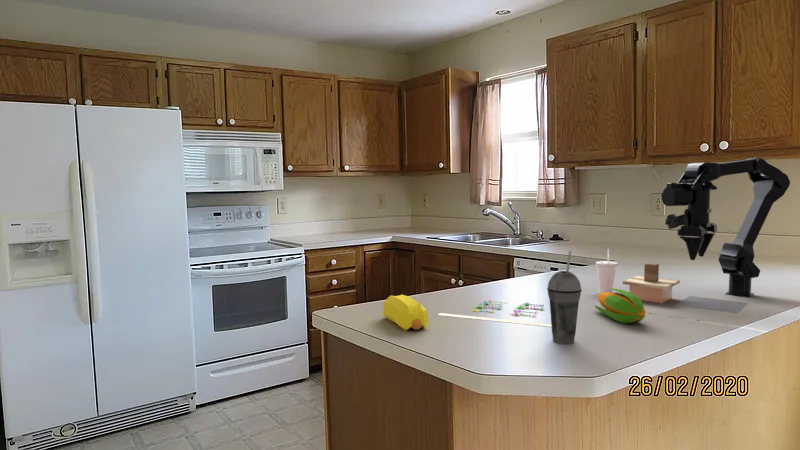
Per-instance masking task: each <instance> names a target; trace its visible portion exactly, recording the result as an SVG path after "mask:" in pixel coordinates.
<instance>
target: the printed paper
mask: <svg viewBox="0 0 800 450" xmlns="http://www.w3.org/2000/svg"><path fill="white" fill-rule="evenodd" d="M504 304H507V302H504V303H503V302H502V301H492V300H491V299H490V300H485V301H483V302H480V303H479V304H477V305H475V306H472V308H470V311H471V312H476V313H479V312H482V313H492V314H493V313H494V314H495V310H503V309H504V308H503V307H502V306H503V305H504ZM488 305H495V306H488ZM499 305H500V306H499ZM501 305H502V306H501ZM529 305H530V306H534V307H529ZM544 305H545V304H535V303H534V304H533V303H530V302H524V303H522V304H520V305H518V306H516V307H513V308H514V309H513V312H514V313H512V316H517V317H518V316H519V315H520V316H525V317H526V316H527V317H537V315H536V314H538V311H537V310H539V311H545V310H546V308H544ZM497 306H498V307H497ZM535 306H539V307H540V308H539V307H535ZM541 306H542V307H541ZM475 308H476V309H475ZM482 308H486V309H487V308H488V309H492V310H491V311H490V310H489V311H488V310H481V309H482ZM479 309H480V310H479ZM494 309H495V310H494ZM517 309H518V310H517ZM523 309H525V310H527V309H528V310H529V309H530V310H532V309H533V310H535V312H533V311H529V312H528V311H522V310H523ZM524 313H528V314H524ZM508 314H509V315H511V313H508ZM532 314H534V315H532ZM437 316H443V317H454V318H461V319H462V318H463V319H472V320H473V319H474V320H483V321H490V322H491V321H493V322H502V323H511V324H519V325H520V324H521V325H528V326H529V325H532V326H540V327H541V326H542V327H551V328H552V326H551V323H550V324H549V323H542V322H541V323H540V322H530V321H523V320H522V321H521V320H512V319H501V318H493V317H492V318H491V317H482V316H474V315H465V314H464V315H462V314H454V313H445V312H440V313H438V314H437Z"/></svg>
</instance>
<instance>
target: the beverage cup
mask: <svg viewBox="0 0 800 450" xmlns="http://www.w3.org/2000/svg"><path fill="white" fill-rule="evenodd" d="M567 256H568V257H567V263H566V270H561V271H557V272H555V273H554V274H553V275H552V276H551V277H550V278H549V281H548V284H547V288H546V290H547V295H548V299H549V309H550V322H551V323H550V324H551V326H552V327H551V335H552V342H554V343H556V344H560V345H573V344H574V343H575V338H576V332H577V331H576V330H577V322H578V311H579V302H580V299H581V295H582V291H583V290H582V285H581V282H580V279H579V278H578V276H576V274H575V273H572V272H570V263H571V256H572V251H571V250H569V251H568V255H567Z"/></svg>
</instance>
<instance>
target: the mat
mask: <svg viewBox="0 0 800 450" xmlns="http://www.w3.org/2000/svg"><path fill="white" fill-rule="evenodd" d="M748 304H749V302H744V301H735V300H727V299H719V298H709V297H701V296H693V295H689V296H687V297H686V298H683V299H682V300H680V301H678V302H677V303H675V304H674V306H680V307H688V308H697V309H703V310H709V311H717V312H725V313H734V314H738V313H739V312H740V311H741V310H743V309H744V308H745V307H746V306H747V305H748Z"/></svg>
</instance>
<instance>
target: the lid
mask: <svg viewBox="0 0 800 450" xmlns="http://www.w3.org/2000/svg"><path fill="white" fill-rule="evenodd" d="M659 267H660V264H659V263H654V262H646V263H644V272H643V273H644V274H643V275H644V276H641V275H636V276H633V277H631V278H628V279H626V280H622V285H626V286H630V285H634V286H643V287H651V288H660V289H669V288H671V287H672V288H673V287H674V286H677V285H679V284H680V282H681V281H680V279H670V278H661V277H659V275H660V274H659V273H660V268H659Z"/></svg>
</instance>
